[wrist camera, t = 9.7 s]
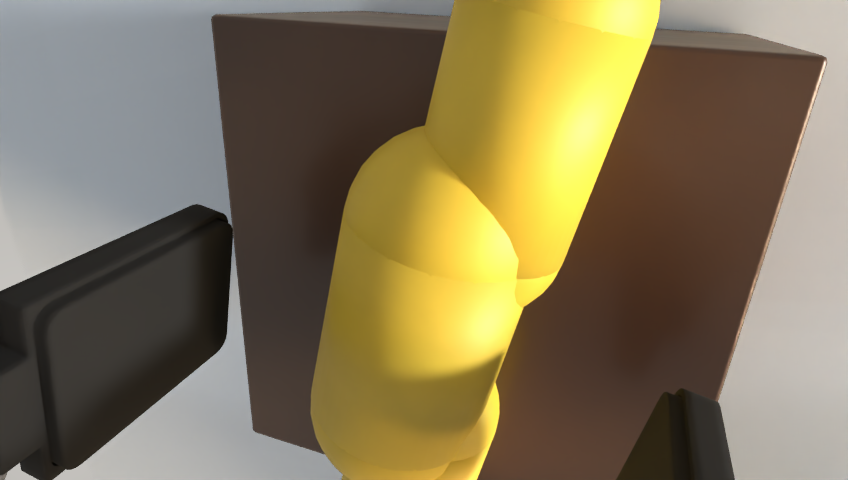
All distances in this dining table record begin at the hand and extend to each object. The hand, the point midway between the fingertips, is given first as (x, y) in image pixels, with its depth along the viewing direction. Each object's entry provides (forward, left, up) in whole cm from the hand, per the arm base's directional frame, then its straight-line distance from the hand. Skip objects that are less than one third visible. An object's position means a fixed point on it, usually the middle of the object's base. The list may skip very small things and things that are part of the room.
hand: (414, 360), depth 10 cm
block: (0, 0, -9) cm, 9 cm away
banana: (0, -1, -2) cm, 2 cm away
